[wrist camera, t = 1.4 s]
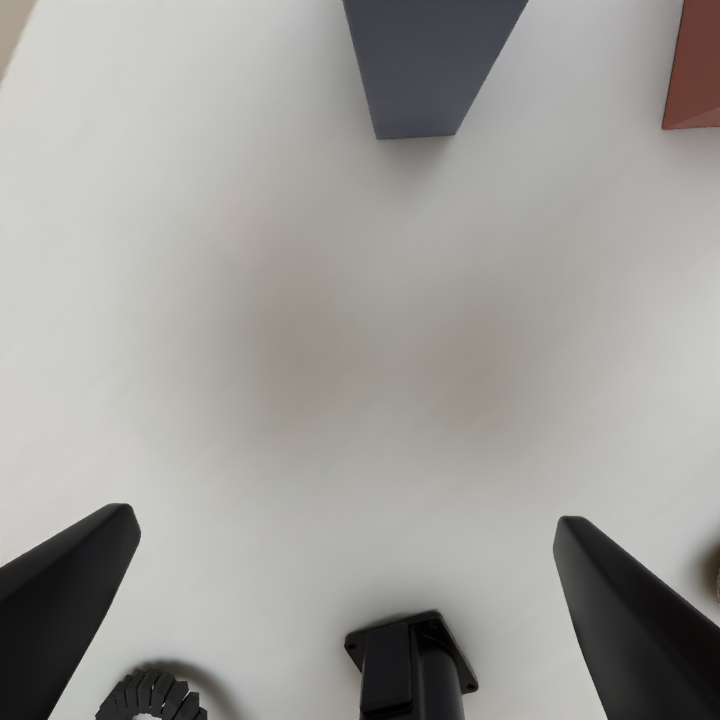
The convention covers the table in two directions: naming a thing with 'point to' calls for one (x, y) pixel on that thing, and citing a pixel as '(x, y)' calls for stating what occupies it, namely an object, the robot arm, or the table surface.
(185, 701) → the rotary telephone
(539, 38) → the table surface
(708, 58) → the brick-red books
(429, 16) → the navy book
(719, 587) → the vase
